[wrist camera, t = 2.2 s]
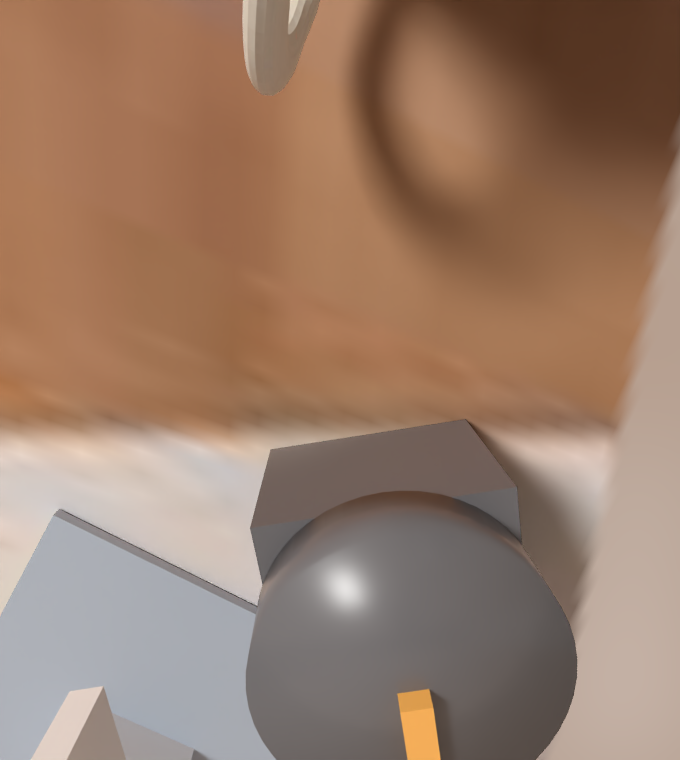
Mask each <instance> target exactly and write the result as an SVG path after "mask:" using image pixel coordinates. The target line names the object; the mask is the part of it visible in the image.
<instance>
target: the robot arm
mask: <svg viewBox="0 0 680 760" xmlns="http://www.w3.org/2000/svg"><path fill="white" fill-rule="evenodd" d="M31 760H126V757H125V754H124V751H123V748H122V744H121V741H120V738H119V735H118V731H117V728H116V725H115V722H114V718H113V715H112V712H111V709H110V705H109V702H108V699H107V696H106V692H105V689H104V686H100V687H94V688H87V689H81V690H75V691H70V692H69V693H68V695H67V697H66V699H65V700H64V702H63V704H62V706H61V707H60V709H59V711H58V713H57V714H56V716H55V718H54V720H53V721H52V723H51V725H50V727H49V728H48V730H47V732H46V734H45V735H44V737H43V739H42V741H41V742H40V744H39V746H38V748H37V749H36V751H35V753H34V755H33V757H32V758H31Z"/></svg>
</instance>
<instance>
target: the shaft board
mask: <svg viewBox="0 0 680 760" xmlns="http://www.w3.org/2000/svg"><path fill="white" fill-rule="evenodd" d="M256 611H257V607H256V606H254V605H252V604H250V603H248V602H246V601H244V600H242V599H240V598H238V597H236V596H234V595H232V594H230V593H228V592H226V591H224V590H222V589H220V588H218V587H216V586H214V585H212V584H210V583H208V582H206V581H204V580H202V579H200V578H198V577H196V576H193V575H191V574H189V573H187V572H185V571H183V570H181V569H179V568H177V567H175V566H173V565H171V564H169V563H167V562H165V561H163V560H161V559H159V558H157V557H155V556H153V555H151V554H149V553H147V552H145V551H143V550H141V549H139V548H137V547H135V546H133V545H131V544H129V543H127V542H125V541H123V540H121V539H119V538H117V537H115V536H112V535H110V534H108V533H106V532H104V531H102V530H100V529H98V528H96V527H94V526H92V525H90V524H88V523H86V522H84V521H82V520H80V519H78V518H76V517H74V516H72V515H70V514H68V513H66V512H64V511H62V510H60V509H59V510H58V511H57V512H56V513H55V514H54V515H53V517H52V519H51V521H50V523H49V525H48V526H47V528H46V530H45V532H44V534H43V536H42V538H41V540H40V542H39V544H38V545H37V547H36V549H35V551H34V553H33V555H32V557H31V559H30V561H29V563H28V564H27V566H26V568H25V570H24V572H23V574H22V576H21V578H20V580H19V582H18V583H17V585H16V587H15V589H14V591H13V593H12V595H11V597H10V599H9V601H8V603H7V604H6V606H5V608H4V610H3V612H2V614H1V616H0V760H31V758H32V757H33V755H34V753H35V751H36V749H37V748H38V746H39V744H40V742H41V741H42V739H43V737H44V735H45V734H46V732H47V730H48V728H49V727H50V725H51V723H52V721H53V720H54V718H55V716H56V714H57V713H58V711H59V709H60V707H61V706H62V704H63V702H64V700H65V699H66V697H67V695H68V693H69V692H70V691H75V690H81V689H87V688H94V687H100V686H104V689H105V692H106V696H107V699H108V702H109V705H110V709H111V712H112V715H113V718H114V722H115V725H116V728H117V731H118V735H119V738H120V741H121V744H122V748H123V751H124V754H125V757H126V760H276V759H275V758H274V757H273V755H272V754H271V753H270V751H269V750H268V748H267V747H266V746H265V744H264V743H263V741H262V739H261V738H260V736H259V734H258V732H257V730H256V728H255V726H254V723H253V720H252V717H251V714H250V711H249V707H248V701H247V695H246V667H247V661H248V654H249V649H250V643H251V638H252V633H253V627H254V622H255V617H256Z"/></svg>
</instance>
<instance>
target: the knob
mask: <svg viewBox="0 0 680 760" xmlns="http://www.w3.org/2000/svg"><path fill="white" fill-rule="evenodd" d="M250 529H251V534H252V538H253V543H254V548H255V552H256V557H257V561H258V566H259V570H260V575H261V579H262V584H263V585H262V589H261V592H260V595H259V600H258V606H257V611H256V617H255V622H254V627H253V633H252V638H251V643H250V649H249V654H248V661H247V667H246V695H247V701H248V707H249V711H250V714H251V717H252V720H253V723H254V726H255V728H256V730H257V732H258V734H259V736H260V738H261V739H262V741H263V743H264V744H265V746H266V747H267V748H268V750H269V751H270V753H271V754H272V755H273V757H274V758H275V759H276V760H536V759H537V757H538V756H539V755H540V754H541V753H542V752H543V751H544V750H545V748H546V747H547V746H548V745H549V744H550V742H551V741H552V739H553V738H554V736H555V735H556V733H557V732H558V731H559V729H560V727H561V725H562V723H563V721H564V719H565V717H566V715H567V713H568V710H569V707H570V705H571V702H572V699H573V696H574V690H575V685H576V679H577V654H576V647H575V641H574V637H573V634H572V631H571V628H570V624H569V622H568V620H567V618H566V616H565V614H564V612H563V610H562V608H561V606H560V604H559V603H558V601H557V600H556V598H555V596H554V595H553V593H552V592H551V590H550V589H549V587H548V585H547V584H546V582H545V581H544V579H543V577H542V576H541V574H540V573H539V571H538V570H537V568H536V566H535V565H534V563H533V562H532V560H531V558H530V557H529V555H528V554H527V552H526V551H525V549H524V548H523V547H522V542H521V530H520V518H519V506H518V493H517V487H516V485H515V484H514V483H513V481H512V480H511V479H510V477H509V476H508V475H507V473H506V472H505V471H504V469H503V468H502V467H501V465H500V464H499V463H498V461H497V460H496V459H495V457H494V456H493V455H492V453H491V452H490V451H489V450H488V448H487V447H486V446H485V444H484V443H483V442H482V440H481V439H480V438H479V436H478V435H477V434H476V432H475V431H474V430H473V428H472V427H471V426H470V424H469V423H468V422H467V420H466V419H465V420H458V421H452V422H445V423H439V424H433V425H426V426H420V427H413V428H407V429H400V430H394V431H388V432H381V433H375V434H368V435H362V436H356V437H349V438H343V439H336V440H330V441H323V442H317V443H311V444H304V445H298V446H291V447H285V448H278V449H272V450H270V454H269V458H268V462H267V466H266V470H265V473H264V477H263V481H262V485H261V489H260V492H259V496H258V500H257V504H256V508H255V512H254V515H253V519H252V523H251V527H250Z"/></svg>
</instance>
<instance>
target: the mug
mask: <svg viewBox="0 0 680 760" xmlns="http://www.w3.org/2000/svg"><path fill="white" fill-rule="evenodd" d="M319 2H320V0H243V43H244V57H245V63H246V69H247V72H248V75H249V78H250V80H251V82H252V84H253V86H254V88H255V89H256V90H257V91H258V92H260V93H261V94H262V95H272V96H273V95H275V94H277V93H278V92H280V91H281V90H282V89H284V87H285V86H286V84H287V83H288V81H289V80H290V78H291V77H292V75H293V73H294V71H295V69H296V66H297V64H298V61H299V58H300V55H301V52H302V49H303V46H304V43H305V41H306V38H307V36H308V33H309V31H310V28H311V26H312V23H313V21H314V18H315V15H316V13H317V10H318V6H319Z"/></svg>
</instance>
